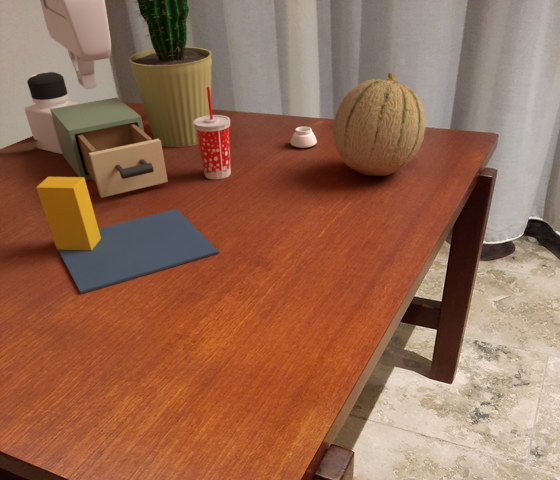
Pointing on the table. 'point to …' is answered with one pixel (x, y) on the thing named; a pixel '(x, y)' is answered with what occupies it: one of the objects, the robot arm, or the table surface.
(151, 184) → the drawer
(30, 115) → the container
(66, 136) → the cabinet
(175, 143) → the potted cactus
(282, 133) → the table surface
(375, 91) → the cantaloupe
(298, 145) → the white jar
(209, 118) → the beverage cup
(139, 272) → the mat
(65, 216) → the sponge
